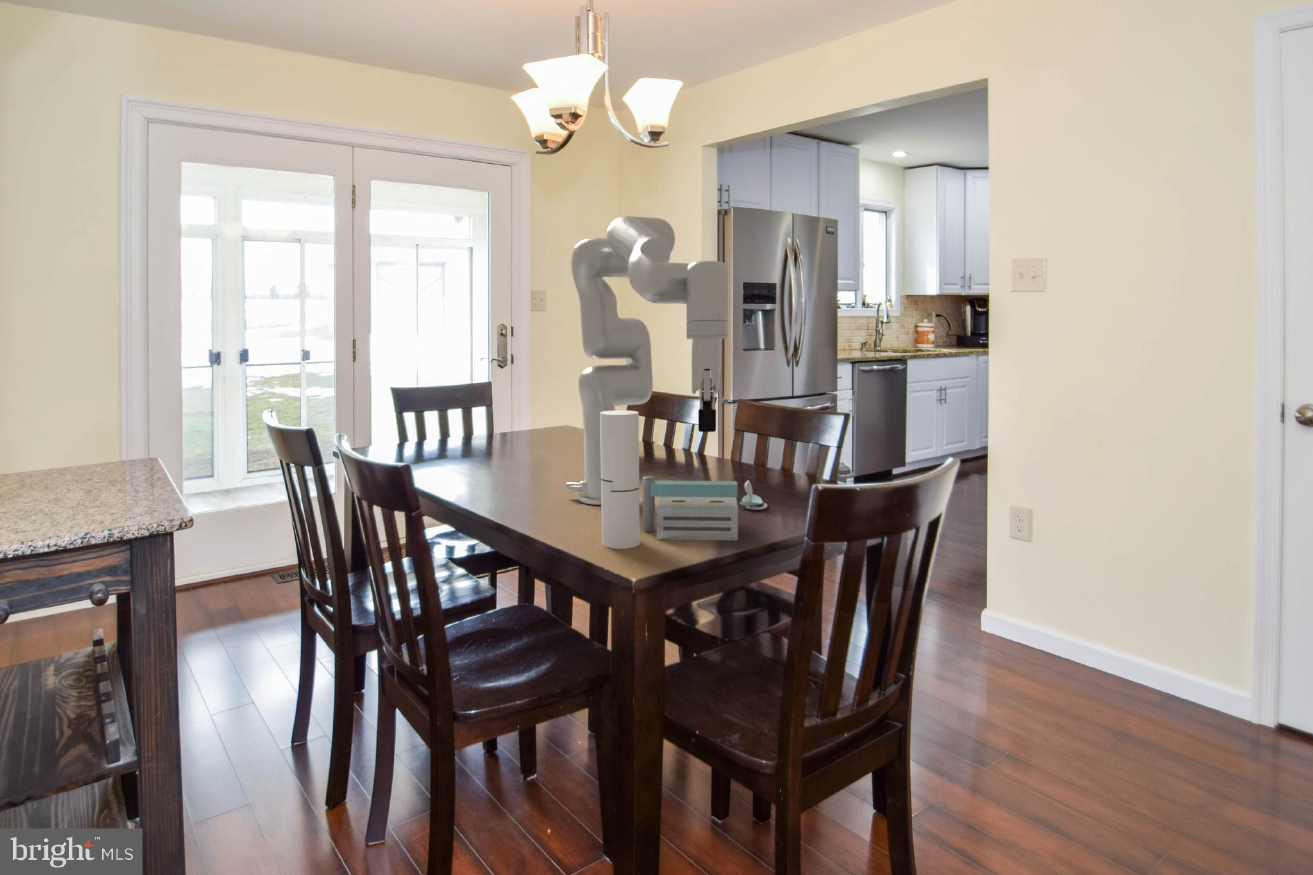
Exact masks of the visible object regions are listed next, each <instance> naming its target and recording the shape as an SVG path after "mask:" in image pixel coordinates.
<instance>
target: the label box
mask: <svg viewBox="0 0 1313 875" xmlns="http://www.w3.org/2000/svg"><path fill="white" fill-rule="evenodd" d="M737 500H738V499H737V497H659V500H658V503H657V504H658V505H657V508H656V540H669V541H670V540H673V541H674V540H675V541H676V540H677V541H678V540H679V541H680V540H682V541H738V538H739V535H738V532H739V523H738V522H739V507H738V501H737Z"/></svg>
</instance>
